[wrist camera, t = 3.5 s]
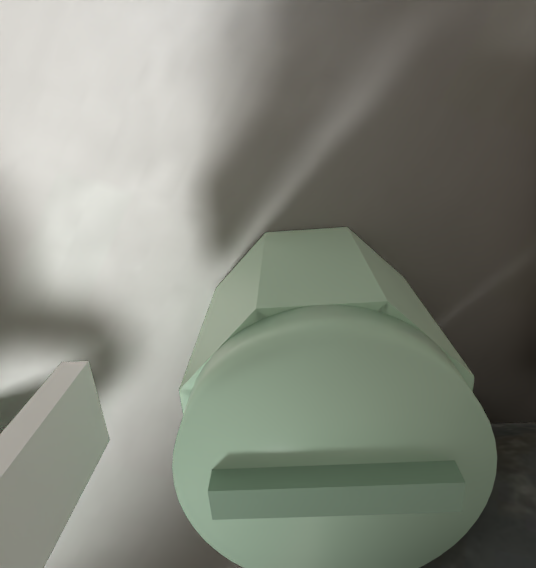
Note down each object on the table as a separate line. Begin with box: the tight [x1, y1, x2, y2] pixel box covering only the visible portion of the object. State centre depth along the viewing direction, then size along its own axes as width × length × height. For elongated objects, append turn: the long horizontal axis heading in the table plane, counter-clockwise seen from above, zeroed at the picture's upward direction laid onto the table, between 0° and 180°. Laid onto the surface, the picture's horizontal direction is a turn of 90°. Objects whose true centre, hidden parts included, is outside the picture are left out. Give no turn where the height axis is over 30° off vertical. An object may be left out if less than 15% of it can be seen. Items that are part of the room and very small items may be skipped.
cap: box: [172, 227, 497, 568], centre depth 13 cm, size 7×7×9 cm
